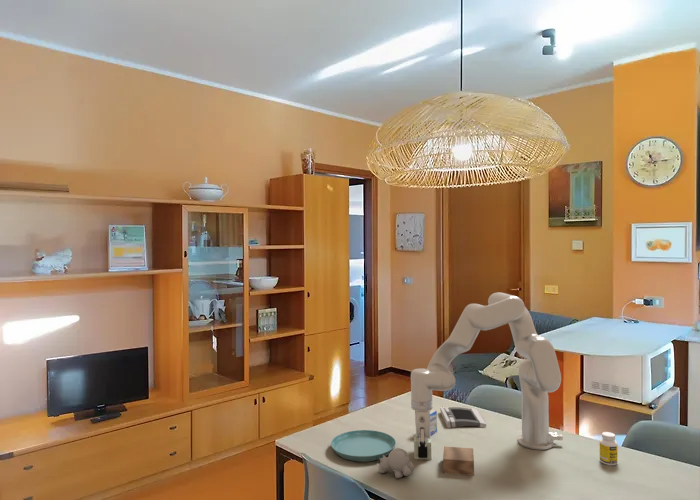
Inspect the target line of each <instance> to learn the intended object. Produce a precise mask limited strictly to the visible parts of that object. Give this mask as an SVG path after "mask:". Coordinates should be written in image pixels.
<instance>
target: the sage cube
mask: <svg viewBox="0 0 700 500" xmlns="http://www.w3.org/2000/svg"><path fill="white" fill-rule="evenodd" d="M420 438H421V436H420ZM424 438H425V436H424ZM426 438H427V437H426ZM420 441H421V439H420ZM424 441H425V439H424ZM426 444H427V458H419V457H418V446H419V438H417V435H414V438H413V449H414V450H413V454H414V460H429V461H430V460H431V461H432V435H431V436H430V439H429V438H427V439H426Z"/></svg>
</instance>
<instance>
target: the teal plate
mask: <svg viewBox="0 0 700 500" xmlns="http://www.w3.org/2000/svg"><path fill="white" fill-rule="evenodd" d="M330 445H331V448H332V450H333V451H334V452H335V454H336V455H338V456H339V457H341V458H343V459H346V460H348V461H353V462H361V463H362V462H373V461H377V460H380V458H381V459H382V458H383V455H384V456H385V457H388V456H389V454H390V452H391V451H392V450H394V449H395V447H396V445H397V441H396V439H395V437H393V436H392V435H390V434H388V433H386V432H382V431H378V430H374V429H373V430H370V429H368V430H367V429H358V430H351V431H347V432H343V433H340V434H338V435H336V436H335V437H333V438H332V440H331V442H330Z"/></svg>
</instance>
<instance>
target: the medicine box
mask: <svg viewBox="0 0 700 500" xmlns="http://www.w3.org/2000/svg"><path fill="white" fill-rule="evenodd" d="M435 432H436V433H437V432H438V413H437V410H435V409H432V410H430V436H431V437H432V435H434V434H436V433H435Z"/></svg>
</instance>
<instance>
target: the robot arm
mask: <svg viewBox="0 0 700 500" xmlns="http://www.w3.org/2000/svg"><path fill="white" fill-rule="evenodd" d="M487 304H488V305H483V304H479V303H469V304H467V305H466V306H465V307H464V309H463V311H462V313H461V315H459V318H458V320H457V322H456V324H455V326H454V328H453V329H452V332H451V333H450V335H449V337H448V338H447V339H446V340H445V341H444V342H443V343H442V344H441V345H440V346H439V347H438V348H437V349H436V351H435V352H434V353H433V355H432V357H431V359H430V361H429V363H428V365H427V367H426V368H424V367H423V368H414V369H412V370H411V372H410V400H411V401H410V402H411V409H412V410H413V411H414V421H415V434H416V435H415V436H417V438H419V446H418V457H419V458H427V444H426V439H427V438H429V439H430V410H433V391H440V392H447V391H450V390H453V388H454V387H455V385H456V377H455V375H454V374H453V373H452V372H451V371H450V370H449V366H450V364H451V363H452V362H453V360H454V359H455V358H456V357H457V356H459V355H461V354H463V353H466V352H468V351H470V350H471V348H472V347H473V345H474V343H475V341H476V339H477V338H478V336H479V333H480V332H481V331H490V330H493V329H497V328H499V327H502V326H504V325H507V324H508V326H509V329H510V331H511V335H512V339H513V342H514V343H513V344H514V347H515V350H516V353H517V354H518V355H520V356H521V357H522V358H525V359H524V360H523V361H522V362H521V363H520V365H519V367H518V378H519V383H520V384H519V385H520V391H521V397H520V398H521V434H520V435H519V436H518V437H517V442H518V443H519V445H521V446H523V447H524V448H527V449H531V450H538V451H539V450H540V451H542V450H548V449H551V448H553V447H554V446H555V445H554V441H555V440H556V441H563V439H564V438H563V435H562V434H558V432H550V423H549V422H550V421H549V419H550V417H549V412H550V411H549V393H554V392H556V391H557V390H558V389H559V388H560V386H561V383H562V373H561V370H560V365H559V362H558V356H557V354H556V351H555V348H554V345H553V344H552V343H551V342H550V340H549V339H547V338H546V337H544V336H540V335H539V334H538V333H537V330H536V327H535V324H534V321H533V318H532V316H531V314H530V311H529V310H528V308H527V307H526V306H525V303H524V301H523V300H522V299H521V298H520V297H519V296H516V295H513V294H509V293H505V292H498V291H497V292H494V293H492V294H490V295H489V297H488V299H487ZM420 436H421V438H420ZM424 436H425V438H424ZM426 437H427V438H426ZM420 439H421V441H420ZM424 439H425V441H424Z"/></svg>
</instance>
